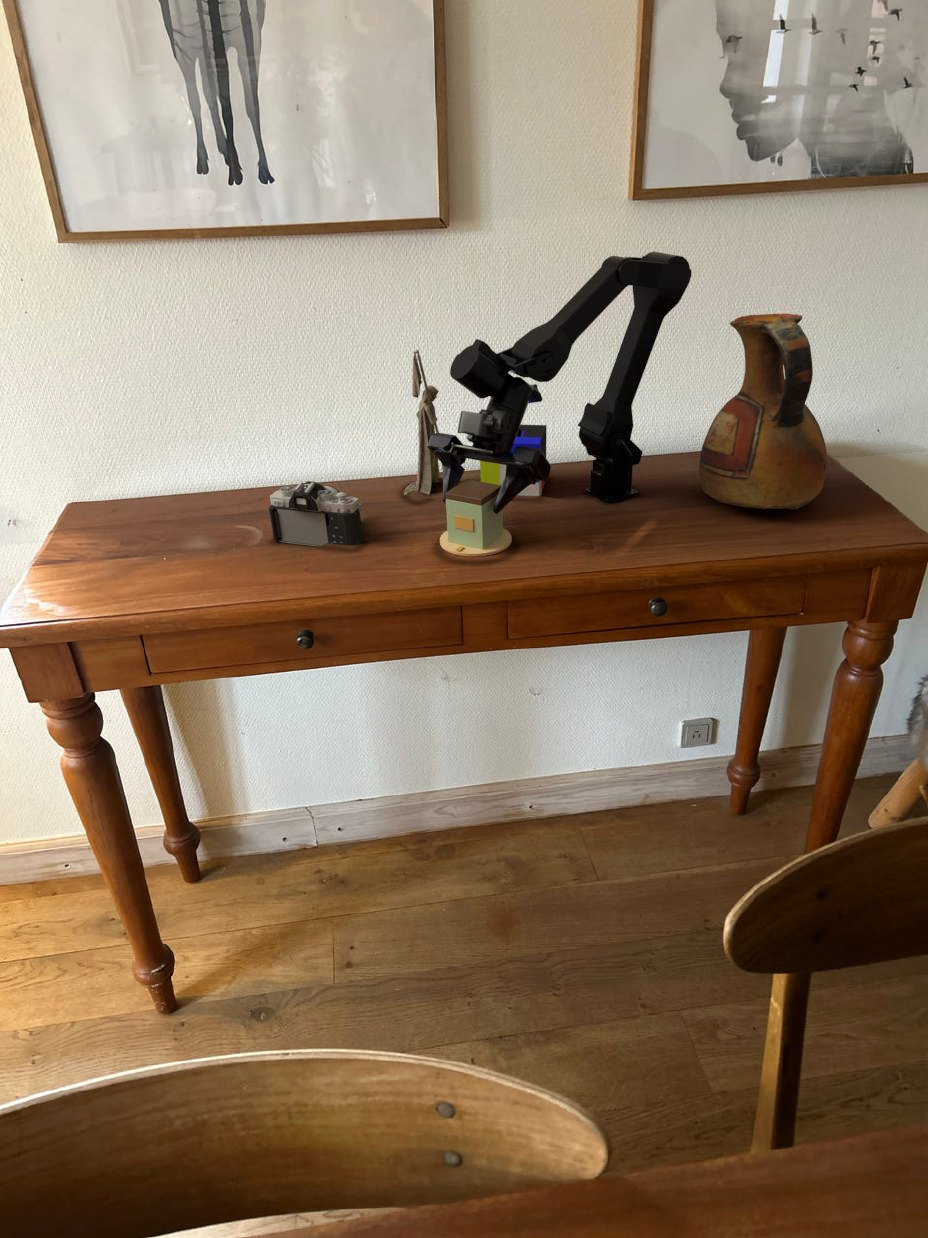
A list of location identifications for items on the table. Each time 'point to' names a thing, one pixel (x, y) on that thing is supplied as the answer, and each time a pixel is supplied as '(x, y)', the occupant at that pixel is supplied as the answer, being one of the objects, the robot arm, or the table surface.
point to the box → (474, 520)
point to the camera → (315, 515)
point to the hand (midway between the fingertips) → (469, 507)
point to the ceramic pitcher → (767, 423)
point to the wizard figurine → (424, 431)
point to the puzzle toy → (529, 438)
